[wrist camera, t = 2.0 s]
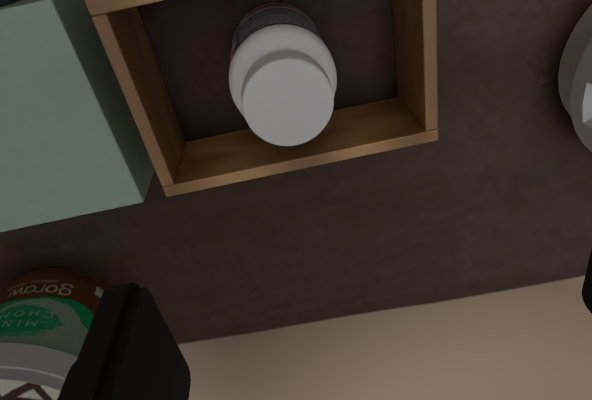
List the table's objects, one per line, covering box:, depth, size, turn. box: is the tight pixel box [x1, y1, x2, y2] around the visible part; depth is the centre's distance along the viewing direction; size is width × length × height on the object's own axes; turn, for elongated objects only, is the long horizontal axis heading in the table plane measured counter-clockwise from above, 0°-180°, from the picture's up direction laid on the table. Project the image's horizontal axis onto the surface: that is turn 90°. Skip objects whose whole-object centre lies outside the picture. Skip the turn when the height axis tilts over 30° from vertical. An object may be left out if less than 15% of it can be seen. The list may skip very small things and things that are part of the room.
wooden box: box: [85, 0, 438, 197], centre depth 24 cm, size 15×10×6 cm
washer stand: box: [0, 0, 155, 232], centre depth 25 cm, size 10×11×5 cm
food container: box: [0, 268, 109, 400], centre depth 31 cm, size 12×6×10 cm, turn 101°
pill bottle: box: [229, 3, 337, 146], centre depth 23 cm, size 5×5×9 cm
